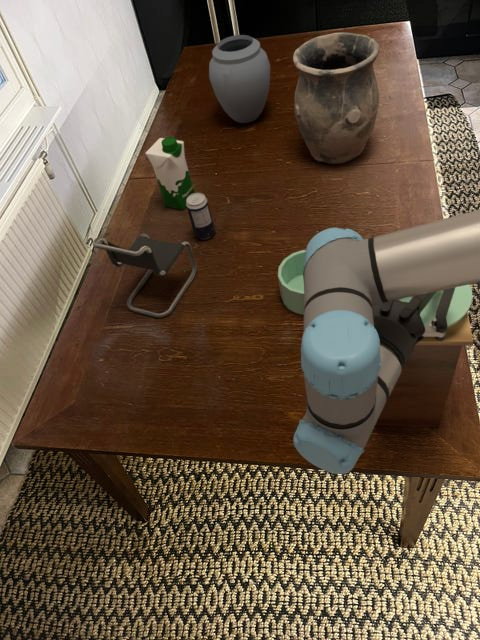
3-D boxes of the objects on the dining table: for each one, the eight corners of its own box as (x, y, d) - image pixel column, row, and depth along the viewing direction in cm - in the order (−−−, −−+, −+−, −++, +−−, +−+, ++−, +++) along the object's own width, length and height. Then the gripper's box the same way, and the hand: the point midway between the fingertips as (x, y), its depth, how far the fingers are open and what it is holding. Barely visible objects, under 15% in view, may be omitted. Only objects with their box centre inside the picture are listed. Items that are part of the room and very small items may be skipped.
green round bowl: (339, 315, 118) (339, 292, 113) (279, 315, 121) (275, 293, 115) (339, 271, 127) (339, 248, 121) (283, 272, 129) (280, 250, 124)
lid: (478, 334, 74) (493, 287, 67) (371, 334, 77) (374, 289, 69) (463, 260, 83) (475, 212, 76) (368, 263, 86) (370, 216, 78)
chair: (121, 310, 130) (88, 244, 113) (156, 261, 139) (130, 194, 122) (166, 321, 125) (139, 254, 108) (199, 271, 134) (178, 202, 117)
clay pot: (302, 131, 167) (295, 32, 144) (377, 128, 162) (382, 25, 139) (294, 174, 154) (284, 73, 131) (375, 172, 148) (380, 67, 126)
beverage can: (219, 229, 143) (210, 193, 134) (209, 242, 140) (200, 207, 131) (200, 225, 146) (191, 190, 136) (191, 239, 143) (180, 204, 133)
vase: (209, 116, 182) (193, 43, 164) (258, 96, 186) (248, 22, 167) (233, 140, 170) (220, 65, 151) (286, 118, 174) (279, 42, 155)
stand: (445, 432, 97) (473, 341, 76) (367, 429, 100) (373, 341, 79) (436, 368, 106) (459, 271, 84) (365, 368, 109) (369, 273, 87)
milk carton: (185, 213, 150) (167, 151, 135) (159, 207, 154) (139, 147, 138) (200, 194, 155) (184, 133, 139) (175, 189, 158) (157, 128, 143)
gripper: (317, 351, 72) (384, 242, 83) (433, 397, 65) (489, 271, 77) (315, 317, 66) (387, 205, 78) (442, 362, 60) (501, 232, 71)
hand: (437, 238), depth 77 cm, fingers closed on lid, 3 cm apart
